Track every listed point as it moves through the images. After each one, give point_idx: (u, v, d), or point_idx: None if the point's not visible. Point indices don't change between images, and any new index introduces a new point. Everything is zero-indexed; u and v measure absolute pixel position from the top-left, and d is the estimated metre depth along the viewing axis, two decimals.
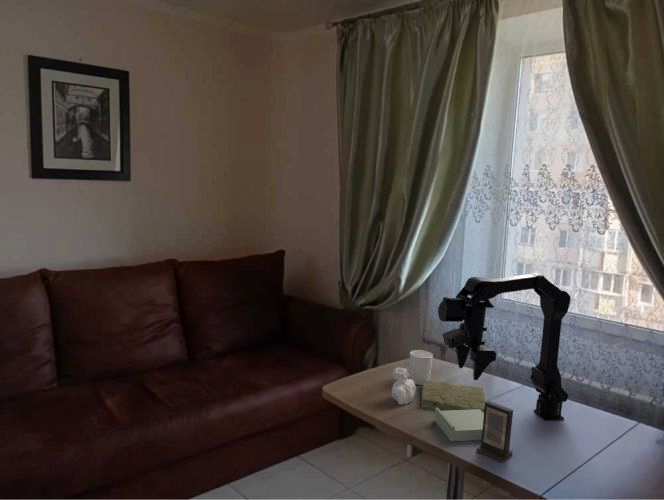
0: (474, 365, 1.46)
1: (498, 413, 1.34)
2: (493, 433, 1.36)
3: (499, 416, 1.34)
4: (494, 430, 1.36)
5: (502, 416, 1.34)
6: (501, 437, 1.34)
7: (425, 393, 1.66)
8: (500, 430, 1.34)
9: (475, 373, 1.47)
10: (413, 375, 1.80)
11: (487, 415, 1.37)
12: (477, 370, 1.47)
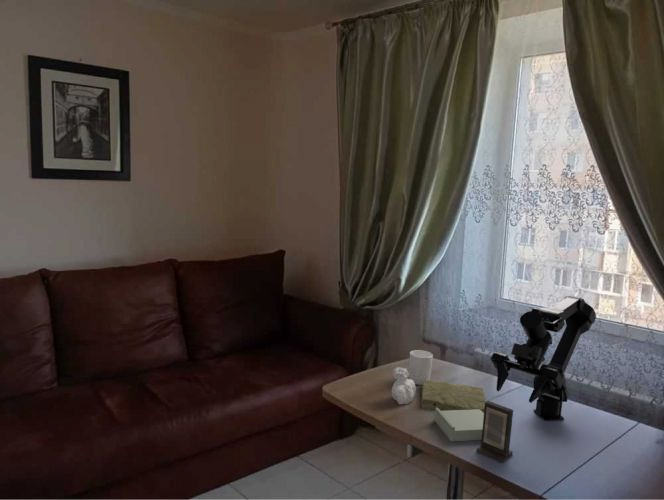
0: (538, 385, 1.38)
1: (498, 413, 1.34)
2: (493, 433, 1.36)
3: (499, 416, 1.34)
4: (494, 430, 1.36)
5: (502, 416, 1.34)
6: (501, 437, 1.34)
7: (425, 393, 1.66)
8: (500, 430, 1.34)
9: (535, 394, 1.38)
10: (413, 375, 1.80)
11: (487, 415, 1.37)
12: (538, 391, 1.38)
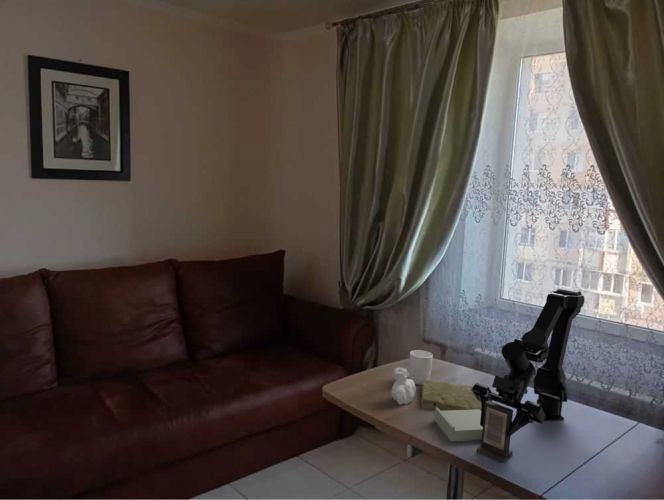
0: (516, 419, 1.33)
1: (498, 413, 1.34)
2: (493, 433, 1.36)
3: (499, 416, 1.34)
4: (494, 430, 1.36)
5: (502, 416, 1.34)
6: (501, 437, 1.34)
7: (425, 393, 1.66)
8: (500, 430, 1.34)
9: (513, 428, 1.32)
10: (413, 375, 1.80)
11: (487, 414, 1.37)
12: (516, 425, 1.33)
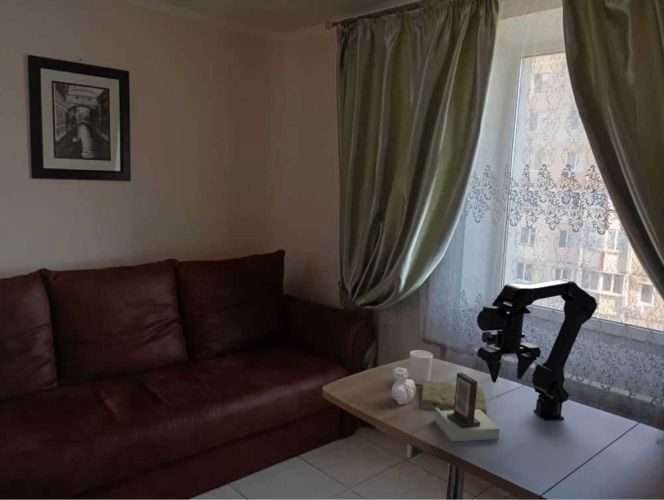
0: None
1: (464, 383, 1.45)
2: (461, 401, 1.47)
3: (465, 386, 1.45)
4: (461, 399, 1.46)
5: (467, 386, 1.44)
6: (466, 405, 1.45)
7: (425, 393, 1.66)
8: (465, 399, 1.45)
9: (490, 374, 1.51)
10: (413, 375, 1.80)
11: (458, 384, 1.48)
12: (490, 371, 1.51)
